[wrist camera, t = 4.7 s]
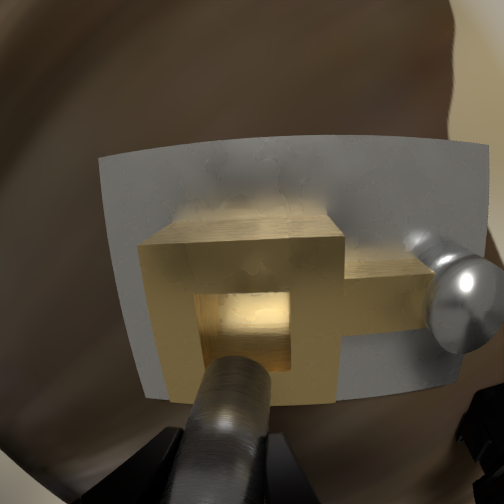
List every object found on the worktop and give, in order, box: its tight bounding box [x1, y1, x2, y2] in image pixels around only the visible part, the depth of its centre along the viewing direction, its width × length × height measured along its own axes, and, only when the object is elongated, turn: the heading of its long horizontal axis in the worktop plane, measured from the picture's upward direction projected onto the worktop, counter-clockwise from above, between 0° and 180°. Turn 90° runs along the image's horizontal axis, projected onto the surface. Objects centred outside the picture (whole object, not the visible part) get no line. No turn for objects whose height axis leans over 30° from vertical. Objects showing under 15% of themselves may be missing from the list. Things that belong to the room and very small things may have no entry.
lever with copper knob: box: [159, 356, 272, 504], centre depth 6 cm, size 3×3×8 cm
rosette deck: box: [99, 135, 504, 406], centre depth 16 cm, size 22×16×6 cm
